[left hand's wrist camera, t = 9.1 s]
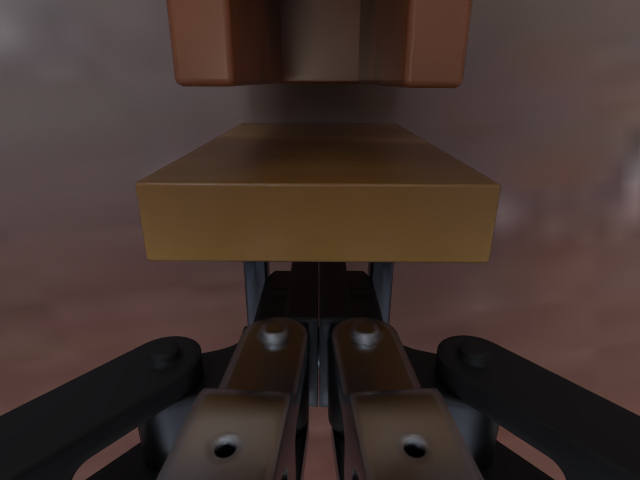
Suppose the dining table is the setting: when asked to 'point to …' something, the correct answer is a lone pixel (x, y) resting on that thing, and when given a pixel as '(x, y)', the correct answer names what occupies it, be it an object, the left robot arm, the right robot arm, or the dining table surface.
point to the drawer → (318, 145)
